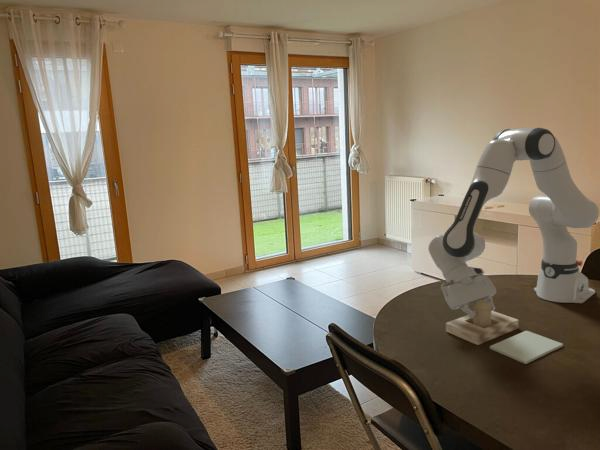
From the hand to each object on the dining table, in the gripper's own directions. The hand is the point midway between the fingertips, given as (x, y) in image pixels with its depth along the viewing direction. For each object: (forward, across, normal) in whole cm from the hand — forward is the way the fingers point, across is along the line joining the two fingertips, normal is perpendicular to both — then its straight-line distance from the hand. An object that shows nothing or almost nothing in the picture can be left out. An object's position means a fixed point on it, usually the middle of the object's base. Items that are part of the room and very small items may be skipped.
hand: (483, 313), depth 153 cm
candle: (+4, 0, +5) cm, 6 cm away
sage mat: (+15, 0, -7) cm, 17 cm away
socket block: (+4, 0, +5) cm, 6 cm away
